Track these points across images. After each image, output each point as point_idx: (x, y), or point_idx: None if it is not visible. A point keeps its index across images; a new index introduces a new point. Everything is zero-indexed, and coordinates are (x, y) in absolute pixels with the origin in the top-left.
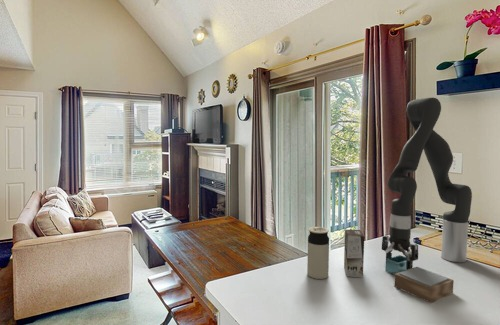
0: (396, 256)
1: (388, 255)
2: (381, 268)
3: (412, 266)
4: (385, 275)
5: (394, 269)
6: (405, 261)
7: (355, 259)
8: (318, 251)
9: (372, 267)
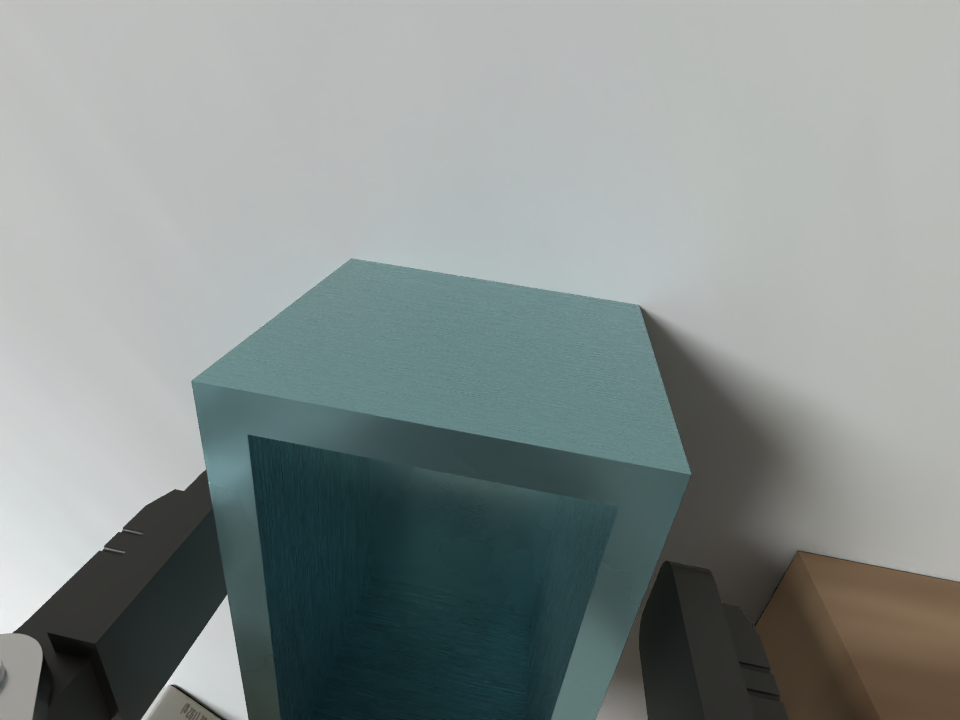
0: (251, 563)
1: (157, 692)
2: None
3: (765, 655)
4: None
5: (482, 679)
6: (594, 716)
7: None
8: None
9: None
